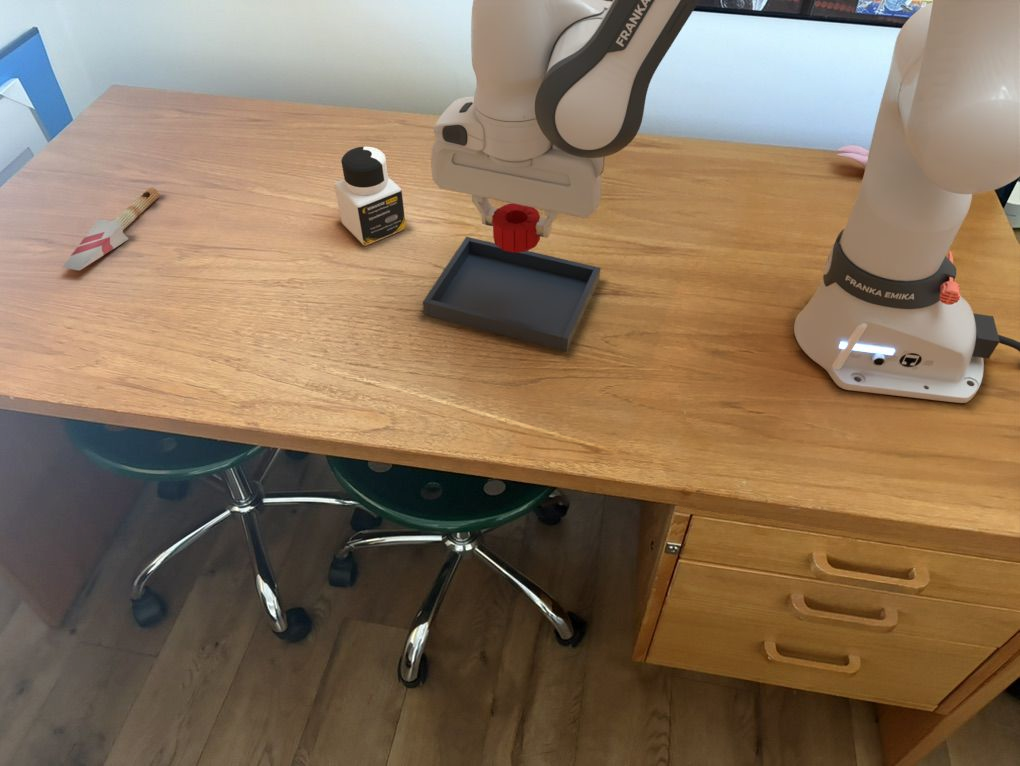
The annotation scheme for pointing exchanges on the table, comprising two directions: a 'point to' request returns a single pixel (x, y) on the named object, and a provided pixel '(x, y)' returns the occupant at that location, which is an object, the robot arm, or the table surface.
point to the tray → (513, 293)
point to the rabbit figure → (855, 154)
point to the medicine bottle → (369, 196)
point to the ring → (515, 228)
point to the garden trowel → (108, 233)
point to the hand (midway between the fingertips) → (516, 228)
